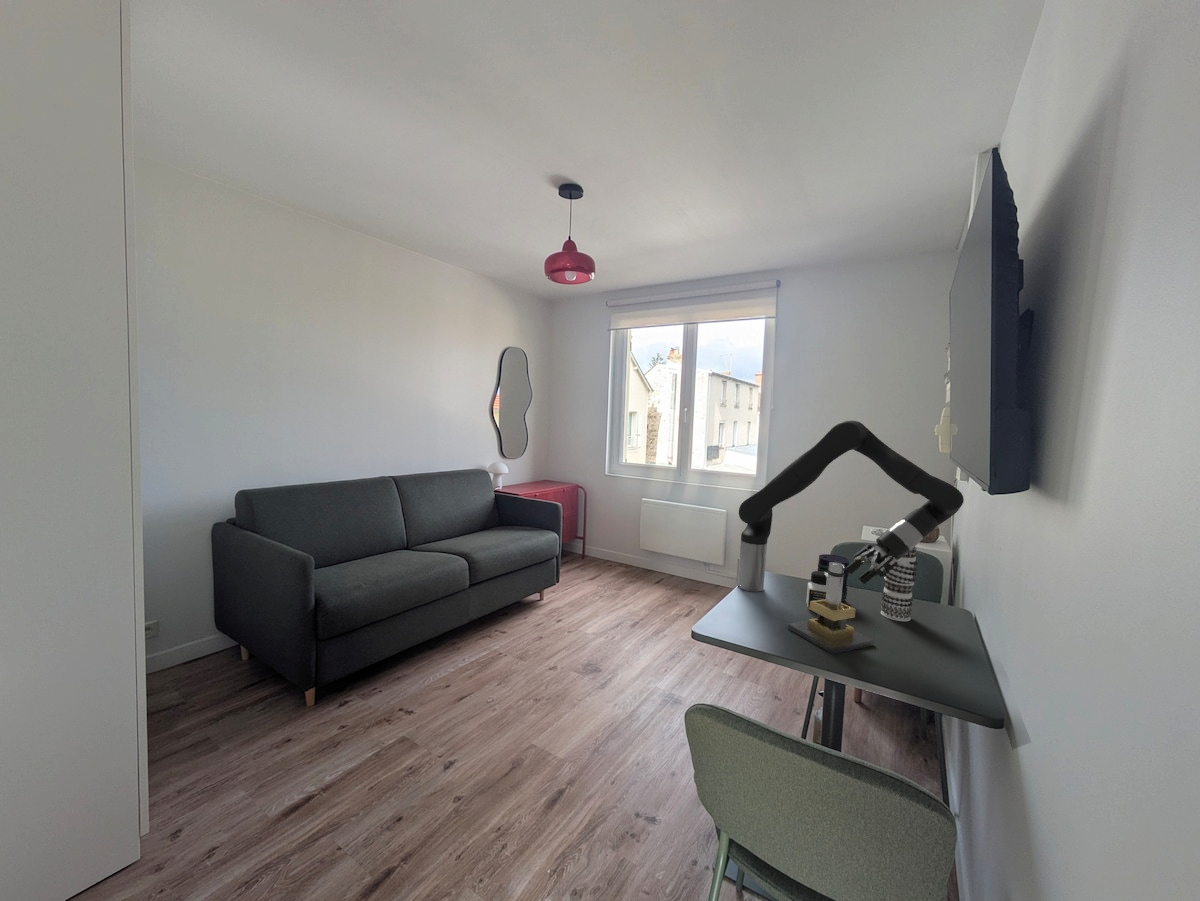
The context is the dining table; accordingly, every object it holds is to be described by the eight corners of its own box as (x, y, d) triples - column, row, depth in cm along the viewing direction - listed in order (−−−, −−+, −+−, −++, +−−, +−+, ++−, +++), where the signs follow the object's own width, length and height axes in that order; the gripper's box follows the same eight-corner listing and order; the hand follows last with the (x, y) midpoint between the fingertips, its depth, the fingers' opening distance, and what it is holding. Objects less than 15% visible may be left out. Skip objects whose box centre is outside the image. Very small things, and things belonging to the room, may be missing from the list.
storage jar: (847, 599, 174) (851, 558, 173) (844, 607, 166) (848, 564, 165) (817, 592, 180) (820, 552, 179) (812, 600, 171) (816, 558, 170)
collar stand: (788, 628, 147) (790, 597, 146) (827, 622, 153) (830, 592, 153) (832, 653, 132) (835, 619, 132) (873, 645, 139) (877, 612, 138)
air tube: (819, 629, 144) (825, 562, 142) (829, 627, 145) (835, 561, 144) (831, 635, 140) (837, 567, 138) (841, 633, 142) (848, 566, 140)
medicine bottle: (807, 609, 163) (810, 574, 162) (806, 602, 170) (809, 568, 169) (831, 613, 161) (834, 577, 160) (828, 605, 167) (831, 571, 167)
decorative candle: (902, 611, 165) (910, 538, 164) (917, 623, 156) (925, 545, 154) (874, 609, 166) (881, 536, 164) (887, 620, 157) (895, 543, 155)
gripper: (878, 524, 146) (835, 559, 148) (904, 535, 132) (856, 574, 134) (894, 542, 146) (851, 577, 148) (922, 556, 132) (874, 595, 134)
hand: (854, 576), depth 141 cm, fingers open, 8 cm apart
